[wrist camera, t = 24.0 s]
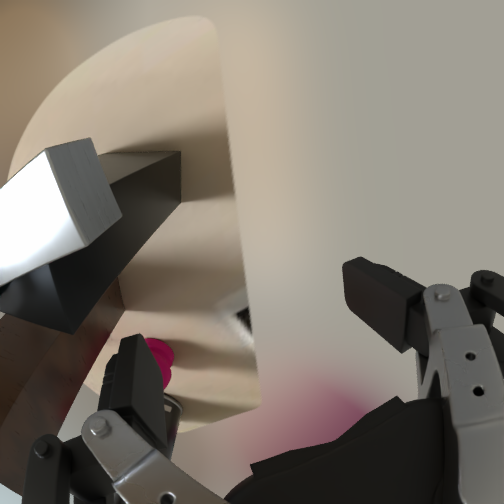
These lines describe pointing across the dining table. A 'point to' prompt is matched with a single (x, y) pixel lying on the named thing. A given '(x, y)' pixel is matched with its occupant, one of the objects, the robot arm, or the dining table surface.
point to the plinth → (45, 378)
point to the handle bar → (53, 208)
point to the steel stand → (100, 244)
